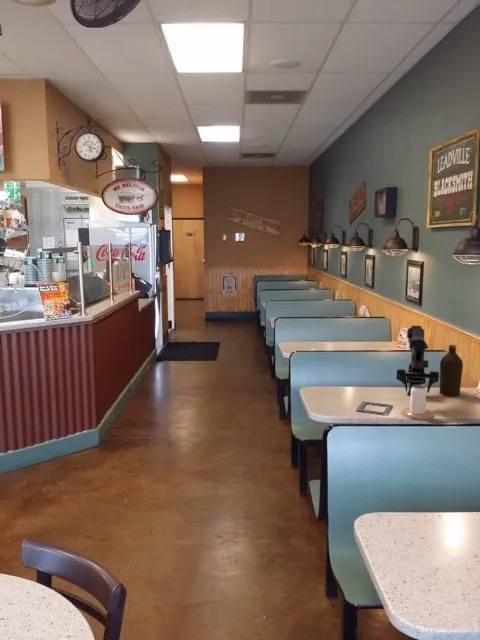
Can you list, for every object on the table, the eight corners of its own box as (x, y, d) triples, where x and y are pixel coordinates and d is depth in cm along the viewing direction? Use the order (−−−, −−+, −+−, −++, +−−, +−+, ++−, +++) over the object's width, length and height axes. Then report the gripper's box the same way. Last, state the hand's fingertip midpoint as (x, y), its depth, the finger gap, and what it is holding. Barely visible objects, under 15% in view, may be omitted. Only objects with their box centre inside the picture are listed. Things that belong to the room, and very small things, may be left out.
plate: (404, 408, 250) (404, 406, 250) (433, 412, 245) (434, 409, 245) (399, 417, 239) (399, 414, 238) (430, 421, 233) (431, 418, 233)
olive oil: (464, 397, 266) (467, 347, 262) (442, 396, 267) (444, 347, 263) (456, 390, 277) (459, 343, 273) (435, 390, 278) (438, 342, 273)
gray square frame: (362, 402, 260) (362, 401, 260) (392, 406, 254) (392, 404, 254) (356, 411, 247) (356, 409, 247) (387, 415, 241) (387, 414, 241)
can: (428, 413, 240) (429, 387, 238) (416, 415, 237) (417, 389, 235) (418, 409, 245) (419, 383, 243) (406, 411, 243) (407, 385, 241)
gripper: (397, 352, 252) (396, 381, 243) (440, 354, 247) (440, 384, 238) (396, 364, 261) (395, 393, 252) (437, 367, 256) (438, 396, 247)
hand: (417, 391), depth 247 cm, fingers open, 9 cm apart
